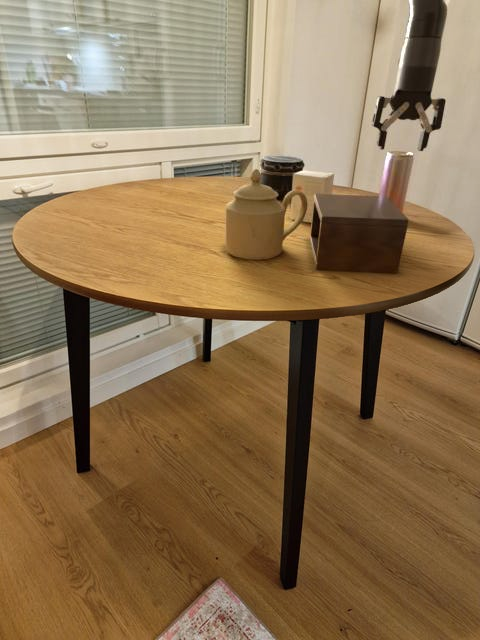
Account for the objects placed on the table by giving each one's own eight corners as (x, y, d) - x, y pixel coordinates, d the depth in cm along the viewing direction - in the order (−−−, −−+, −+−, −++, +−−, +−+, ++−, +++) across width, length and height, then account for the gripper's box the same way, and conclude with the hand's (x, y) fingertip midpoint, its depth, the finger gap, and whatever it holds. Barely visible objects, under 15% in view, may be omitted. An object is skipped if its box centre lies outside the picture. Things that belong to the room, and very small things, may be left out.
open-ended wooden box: (378, 242, 87) (386, 196, 82) (397, 273, 73) (409, 219, 68) (309, 239, 88) (314, 193, 83) (315, 269, 74) (322, 216, 69)
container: (304, 191, 126) (307, 156, 121) (298, 201, 115) (302, 163, 110) (262, 188, 129) (264, 153, 124) (253, 198, 118) (254, 160, 113)
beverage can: (370, 218, 102) (381, 152, 95) (382, 214, 106) (394, 150, 99) (393, 224, 99) (406, 155, 91) (405, 219, 102) (419, 153, 95)
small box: (329, 219, 101) (335, 173, 96) (321, 225, 97) (326, 177, 92) (298, 214, 105) (302, 169, 99) (289, 219, 100) (292, 173, 95)
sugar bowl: (265, 233, 91) (269, 159, 84) (306, 246, 84) (314, 167, 77) (213, 248, 82) (212, 167, 75) (253, 265, 75) (257, 177, 68)
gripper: (386, 63, 84) (371, 151, 91) (460, 65, 83) (439, 153, 91) (378, 64, 90) (365, 146, 98) (446, 66, 89) (427, 148, 97)
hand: (400, 149), depth 94 cm, fingers open, 8 cm apart
